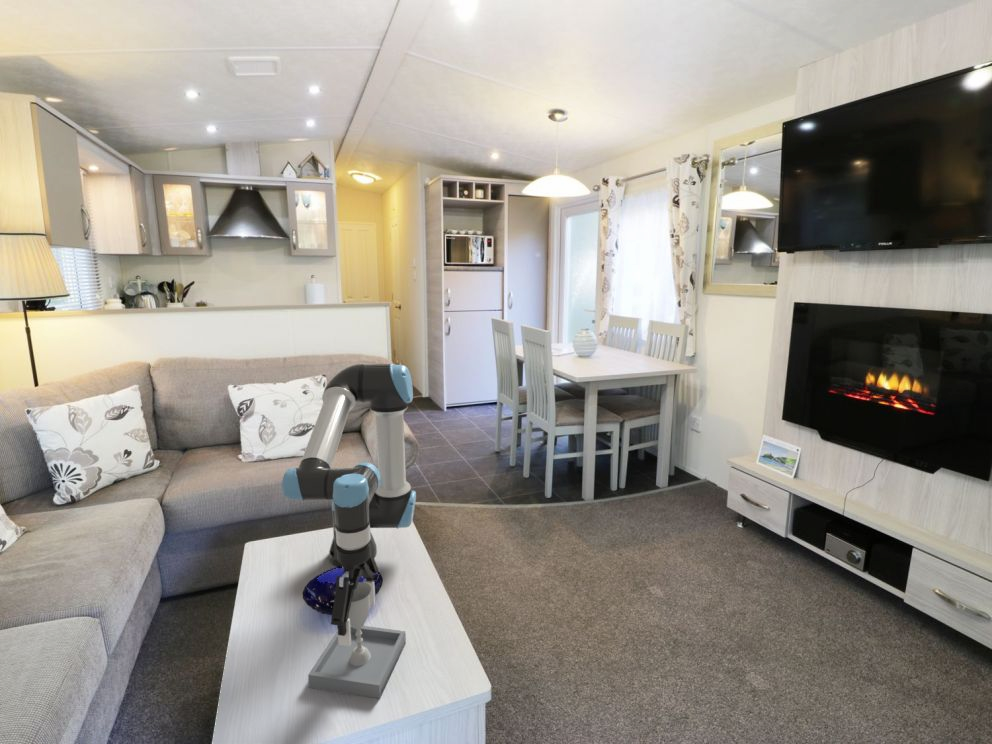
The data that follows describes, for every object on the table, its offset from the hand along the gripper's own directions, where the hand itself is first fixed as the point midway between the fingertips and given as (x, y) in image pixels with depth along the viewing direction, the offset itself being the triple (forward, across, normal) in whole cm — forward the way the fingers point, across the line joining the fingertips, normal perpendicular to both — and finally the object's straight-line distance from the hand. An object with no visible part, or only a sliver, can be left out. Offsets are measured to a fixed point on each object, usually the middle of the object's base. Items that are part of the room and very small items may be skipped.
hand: (358, 623), depth 119 cm
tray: (+11, 0, 0) cm, 11 cm away
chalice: (+10, 0, 0) cm, 10 cm away
